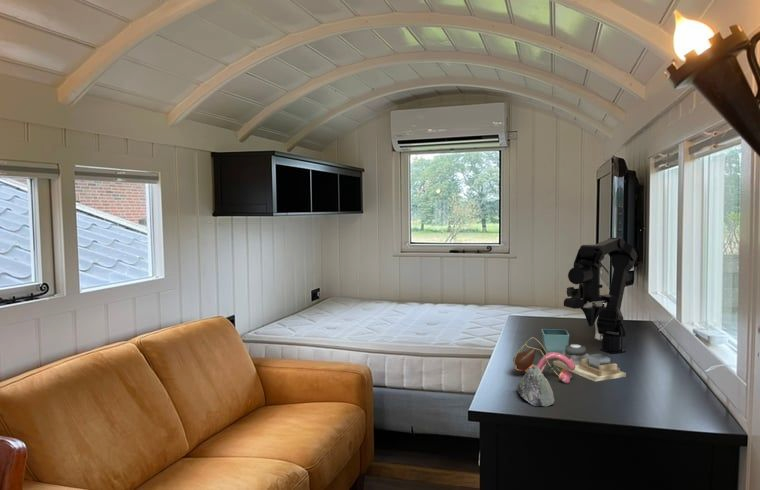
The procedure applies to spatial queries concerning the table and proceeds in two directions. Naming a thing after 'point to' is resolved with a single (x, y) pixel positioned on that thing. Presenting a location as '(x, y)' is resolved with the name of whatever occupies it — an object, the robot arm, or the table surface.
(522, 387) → the mineral rock
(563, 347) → the flower pot
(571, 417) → the table surface
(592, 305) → the robot arm
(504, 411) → the table surface
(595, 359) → the brushed metal cube
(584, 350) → the grey rounded knob
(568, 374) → the anatomy model
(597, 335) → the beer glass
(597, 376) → the chassis board
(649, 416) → the table surface
